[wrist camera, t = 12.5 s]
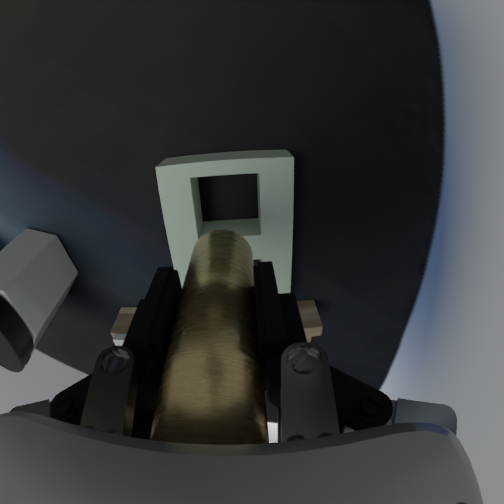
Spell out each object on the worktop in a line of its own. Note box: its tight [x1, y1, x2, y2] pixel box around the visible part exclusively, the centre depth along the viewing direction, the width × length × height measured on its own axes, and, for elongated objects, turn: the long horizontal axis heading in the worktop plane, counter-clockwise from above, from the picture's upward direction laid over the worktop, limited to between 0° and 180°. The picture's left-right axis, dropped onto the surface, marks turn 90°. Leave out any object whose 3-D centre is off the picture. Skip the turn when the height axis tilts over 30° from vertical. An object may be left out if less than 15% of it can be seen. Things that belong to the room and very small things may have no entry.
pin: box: [150, 230, 269, 445], centre depth 9 cm, size 3×3×10 cm
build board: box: [155, 150, 294, 294], centre depth 21 cm, size 13×9×3 cm
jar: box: [0, 228, 78, 372], centre depth 18 cm, size 9×8×12 cm
